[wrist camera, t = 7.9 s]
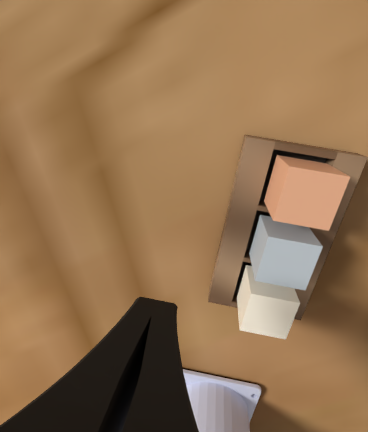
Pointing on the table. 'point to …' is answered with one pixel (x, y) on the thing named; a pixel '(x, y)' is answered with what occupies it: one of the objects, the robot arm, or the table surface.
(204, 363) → the table surface
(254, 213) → the brown flat frame
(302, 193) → the key terracotta
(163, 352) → the robot arm
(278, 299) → the cream cube
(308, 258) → the key slate
